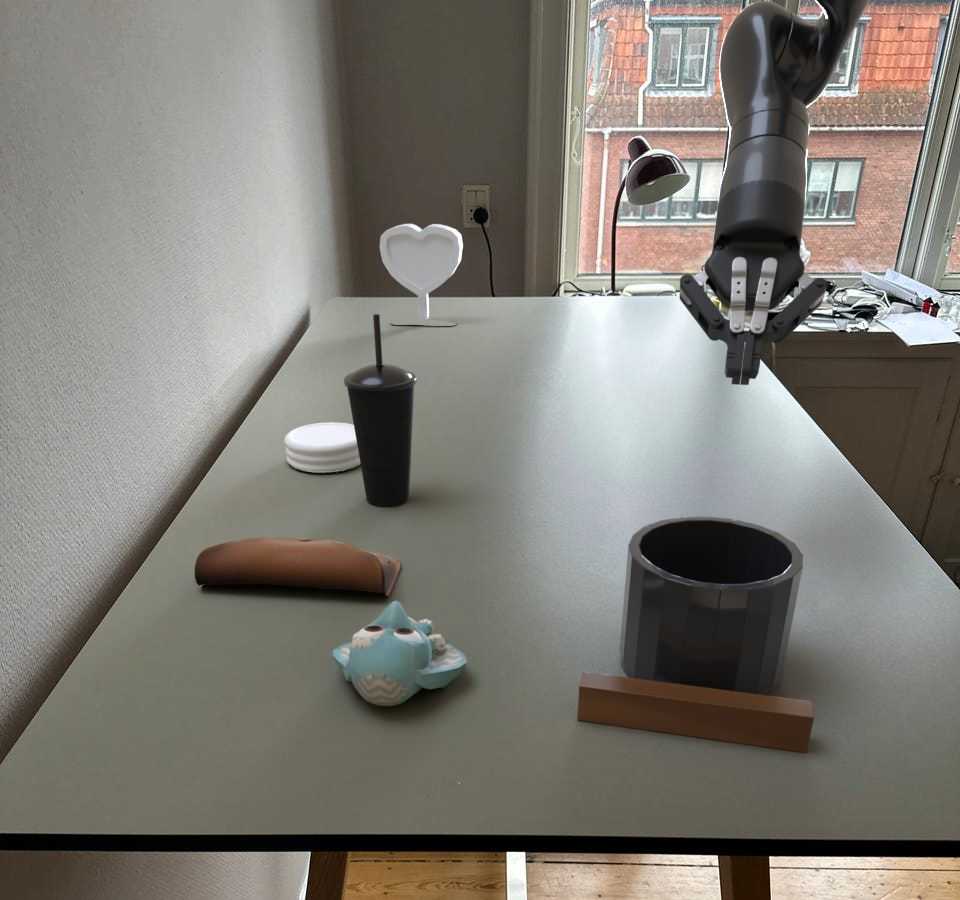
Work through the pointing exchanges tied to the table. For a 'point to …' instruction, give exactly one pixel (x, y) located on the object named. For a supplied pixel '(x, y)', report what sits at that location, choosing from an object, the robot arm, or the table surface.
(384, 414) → the drinking cup
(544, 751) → the table surface
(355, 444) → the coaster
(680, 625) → the pot
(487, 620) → the table surface
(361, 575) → the sunglasses case
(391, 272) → the heart sculpture
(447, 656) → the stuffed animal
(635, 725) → the block
